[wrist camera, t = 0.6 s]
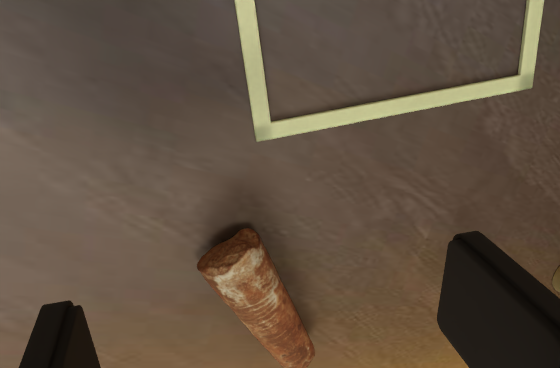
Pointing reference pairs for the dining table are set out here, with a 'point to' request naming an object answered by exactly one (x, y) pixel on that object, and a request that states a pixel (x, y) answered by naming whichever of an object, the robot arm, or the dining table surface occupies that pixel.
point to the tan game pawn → (556, 280)
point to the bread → (258, 296)
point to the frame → (378, 109)
